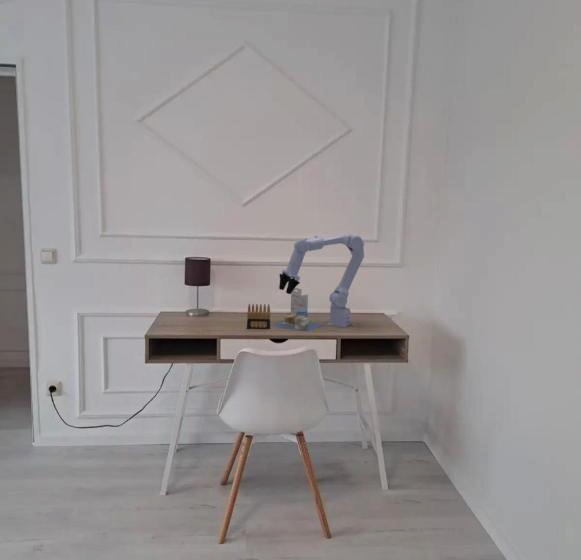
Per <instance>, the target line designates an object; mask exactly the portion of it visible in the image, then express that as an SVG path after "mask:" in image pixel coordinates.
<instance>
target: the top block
mask: <svg viewBox="0 0 581 560" xmlns="http://www.w3.org/2000/svg"><path fill="white" fill-rule="evenodd" d="M308 322H309V317H307V318H305V317H298V318H295V329H297V330H296V331H300V330H306V329H308Z"/></svg>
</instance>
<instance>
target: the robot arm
mask: <svg viewBox="0 0 581 560" xmlns="http://www.w3.org/2000/svg"><path fill="white" fill-rule="evenodd" d="M339 244H341V245H345V247H346V248H348V250H349V251H350V254H351V258H350V260H349V262H348V263H347V266H346V269H345V270H344V273H343V275H342V277H341V280H340V282H339V283H338V286H337V287H335V289H334V290H333V292H331V293H330V294H329V301H330V303H331V304H330V307H329V308H330V310H329V322H328V323H326V325H328V326H333V327H341V328H347V327H348V326H350V325H351V309H350V308H349V307H346V305H347V303H348V298H349V297H348V296H349V289H350V287H351V285H352V283H353V281H354V278H355V277H356V275H357V272H358V270H359V269H360V266H361V264H362V262H363V260H364V257H365V249H364V245H365V244H364V241H363V239H362V237H361V236H359V235H354V234H341V235H336V236H332V237H326V238H322V237H321V236H318V235H315V236H314V237H311V238H307V237H305V238H304V239H299V240H297V241H295V243H294V245H293V247H294V249H293V252H292V254H291V256H290V259H289V262H288V264H287V266H286V268H285V269H282V271H281V273H279V286H278V289H279V290H280V291H281V290H282V291H284V290H285V288H286V286H287V288H286V291H285V293H286V294H288V295H291V293H292V291H293V290H294V288H297V286H298V285H299V284H300V283H301V282H300V279H301V277H300V276H299V275H298V274H299V271H300V269H301V266H302V264H303V261H304V257H305V255H306V253H307V252H311V251H318V250H322V249H323V248H324V247H325V246H330V245H331V246H332V245H339Z"/></svg>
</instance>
